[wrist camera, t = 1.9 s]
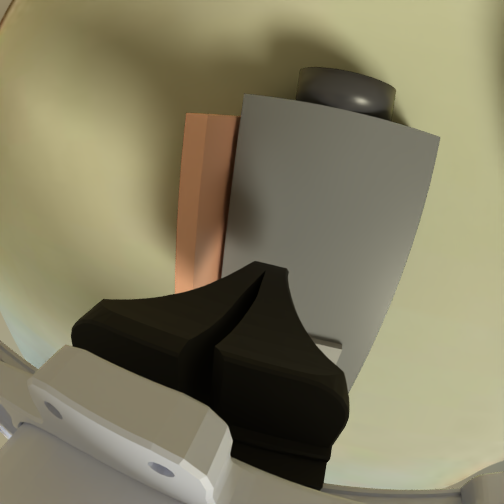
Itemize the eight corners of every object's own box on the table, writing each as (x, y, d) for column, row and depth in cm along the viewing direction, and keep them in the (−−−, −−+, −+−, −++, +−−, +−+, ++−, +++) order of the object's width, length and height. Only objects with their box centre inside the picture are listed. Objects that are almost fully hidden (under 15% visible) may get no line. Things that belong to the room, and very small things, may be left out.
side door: (232, 306, 21) (190, 378, 14) (221, 303, 21) (176, 373, 15) (258, 118, 16) (207, 114, 9) (244, 116, 16) (186, 112, 10)
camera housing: (349, 345, 20) (347, 399, 15) (236, 317, 21) (211, 364, 17) (418, 106, 13) (449, 99, 9) (271, 74, 15) (246, 55, 10)
